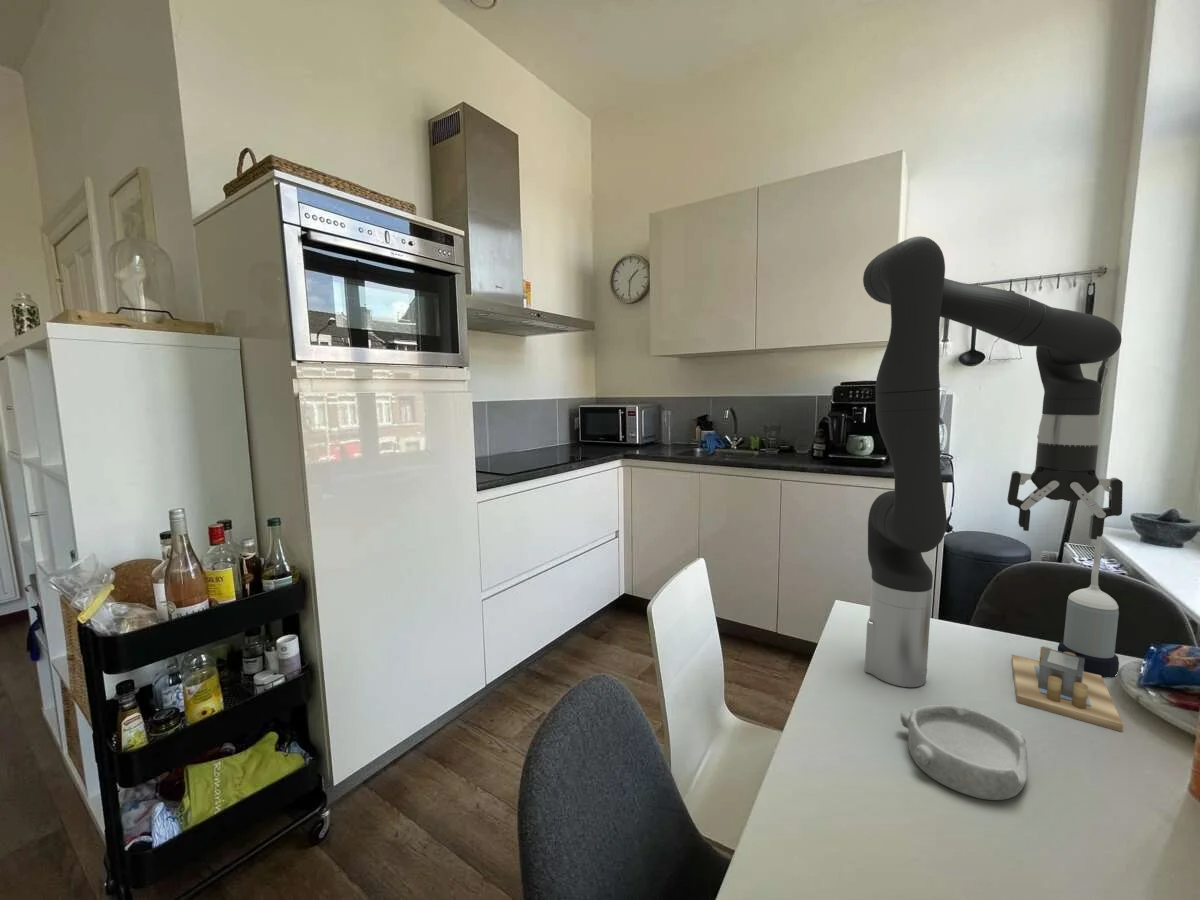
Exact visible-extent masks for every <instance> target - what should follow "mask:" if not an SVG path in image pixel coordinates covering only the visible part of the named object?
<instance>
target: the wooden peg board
mask: <svg viewBox="0 0 1200 900" xmlns="http://www.w3.org/2000/svg"><path fill="white" fill-rule="evenodd" d="M1045 648H1048V649H1052V648H1050V647H1048V646H1041V647H1040V650H1039V651H1040V654H1039V660H1037V659H1033V658H1028V657H1024V656H1020V655H1016V654H1011V661H1010V662H1011V667H1012V674H1013V675H1012V676H1013V682H1014V683H1013V684H1014V688H1015V696H1016V698H1015V699H1016V703H1018V704H1021V705H1024V706H1027V707H1031V708H1035V709H1039V710H1043V711H1046V712H1050V713H1053V714H1058V715H1060V716H1061V715H1062V716H1063V717H1068V718H1071V719H1074V720H1079V721H1083V722H1086V723H1089V724H1093V725H1097V726H1099V727H1100V726H1101V727H1103V728H1107V729H1111V730H1113V731H1118V732H1121V733H1122V732H1123V729H1124V724H1123V720H1122V718H1121V717H1120V715H1119V712H1118V710H1117V707H1116V705H1115V704H1114V702H1113V698H1112V697H1111V695H1110V692H1109V690H1108V688H1107V686H1106V683H1105V681H1104V679H1103V677H1102V676H1101V675H1096V674H1092V673H1088V672H1084V674H1083V682H1082V683H1079V682H1074V686H1073V696H1072V698H1070V697H1067V696H1064V695H1061V685H1062V680H1061V679H1060V678H1058V677H1055V676H1048V686H1047V690H1045V689H1042V688H1039V687H1038V681H1039V670H1040V663H1041V660H1042V657H1043V654H1044V651H1045ZM1063 653H1067V654H1070V655H1074V656H1076V655H1075V654H1073V653H1070V652H1063Z"/></svg>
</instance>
